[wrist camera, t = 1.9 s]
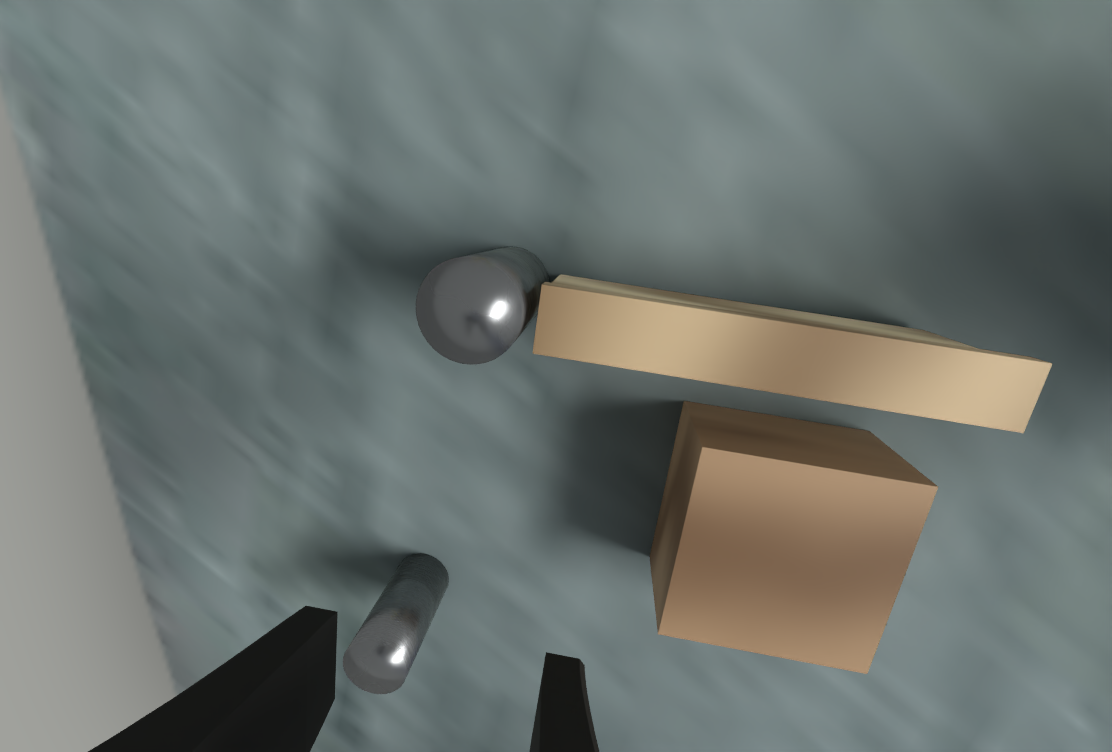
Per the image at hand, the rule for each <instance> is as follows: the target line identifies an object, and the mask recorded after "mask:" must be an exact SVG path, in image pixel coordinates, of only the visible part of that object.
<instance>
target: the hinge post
mask: <svg viewBox="0 0 1112 752" xmlns="http://www.w3.org/2000/svg"><path fill="white" fill-rule="evenodd" d="M544 282H549V277H548V274H547V271H546V269H545V267H544V265H543V263H542V262H541V261H540V260H539V258H537V257H536V256H535V255H534V254H533V253H531V252H529V251H527V250H525V249H522V248H518V247H504V248H499V249H495V250H490V251H485V252H481V253H476V254H471V255H467V256H462V257H457V258H453V259H450V260H447V261H445V262H443V263H441V264H439V265H438V266H436V267H435V268H433V269H432V270H431V271H430V272H429V273H428V275H427V276H426V277H425V278H424V280H423V282H422V284H421V286H420V288H419V291H418V294H417V299H416V316H417V321H418V325H419V327H420V330H421V332H422V334H423V336H424V337H425V339H426V340H427V342H428V343H429V344H430V345H431V346H432V347H433V349H435V350H436V351H437V352H438V353H439V354H441V355H442V356H444V357H446V358H448V359H450V360H452V361H455V362H458V363H462V364H481V363H486V362H489V361H491V360H494V359H496V358H497V357H499V356H500V355H502V354H503V353H504V352H505V351H507V350H508V348H509V347H510V346H511V345H512V344H513V343H514V341H515V340H516V339H517V338H518V337H519V335H520V334H521V333H522V332H523V331H524V329H525V328H526V327H527V326H528V325H529V323H530V322H531V321H532V320H533V319H534V317H535V316H536V315H537V314H538V309H539V302H540V294H541V286H542V284H543V283H544Z"/></svg>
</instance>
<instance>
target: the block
mask: <svg viewBox="0 0 1112 752" xmlns="http://www.w3.org/2000/svg"><path fill="white" fill-rule="evenodd" d="M937 489H938V486H937V485H935V484H934V483H933V482H932V481H930V480H929V479H928V478H927V477H925V476H924V475H923V474H922V473H920V472H919V471H918V470H917V469H916V468H914V467H913V466H912V465H911V464H909V463H908V462H907V461H906V460H904V459H903V458H902V457H901V456H899V455H898V454H897V453H896V452H895V451H893V450H892V449H891V448H890V447H888V446H887V445H886V444H885V443H883V442H882V441H881V440H880V439H878V438H877V437H876V436H875V435H874V434H872V433H871V432H870V431H865V430H859V429H853V428H847V427H841V426H835V425H829V424H823V423H816V422H810V421H804V420H798V419H792V418H786V417H780V416H774V415H768V414H762V413H756V412H749V411H743V410H737V409H731V408H725V407H719V406H713V405H707V404H701V403H695V402H689V401H684V402H683V407H682V411H681V416H680V421H679V425H678V430H677V434H676V439H675V443H674V448H673V452H672V457H671V462H670V466H669V471H668V475H667V480H666V484H665V489H664V493H663V498H662V502H661V507H660V512H659V516H658V521H657V525H656V530H655V534H654V539H653V543H652V548H651V553H650V565H651V574H652V583H653V592H654V601H655V610H656V620H657V629H658V634H660V635H665V636H671V637H676V638H681V639H686V640H692V641H697V642H702V643H707V644H713V645H718V646H723V647H728V648H734V649H739V650H744V651H749V652H755V653H760V654H765V655H770V656H776V657H781V658H786V659H791V660H797V661H802V662H807V663H812V664H818V665H823V666H828V667H833V668H839V669H844V670H849V671H854V672H860V673H865V674H867V673H868V670H869V668H870V665H871V663H872V660H873V657H874V655H875V652H876V649H877V647H878V644H879V642H880V639H881V636H882V634H883V631H884V628H885V626H886V623H887V621H888V618H889V615H890V613H891V610H892V607H893V605H894V602H895V599H896V597H897V594H898V592H899V589H900V586H901V584H902V581H903V578H904V576H905V573H906V571H907V568H908V565H909V563H910V560H911V557H912V555H913V552H914V550H915V547H916V544H917V542H918V539H919V536H920V534H921V531H922V529H923V526H924V523H925V521H926V518H927V515H928V513H929V510H930V508H931V505H932V502H933V500H934V497H935V494H936V492H937Z"/></svg>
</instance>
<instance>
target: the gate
mask: <svg viewBox="0 0 1112 752" xmlns="http://www.w3.org/2000/svg"><path fill="white" fill-rule="evenodd" d="M533 353H534V354H540V355H546V356H552V357H558V358H564V359H570V360H577V361H583V362H589V363H595V364H601V365H607V366H614V367H620V368H626V369H632V370H638V371H644V372H650V373H657V374H663V375H669V376H675V377H681V378H687V379H694V380H700V381H706V382H712V383H718V384H724V385H730V386H737V387H743V388H749V389H755V390H761V391H767V392H774V393H780V394H786V395H792V396H798V397H804V398H810V399H817V400H823V401H829V402H835V403H841V404H847V405H854V406H860V407H866V408H872V409H878V410H884V411H890V412H897V413H903V414H909V415H915V416H921V417H927V418H934V419H940V420H946V421H952V422H958V423H964V424H971V425H977V426H983V427H989V428H995V429H1001V430H1007V431H1014V432H1020V433H1024V431H1025V428H1026V426H1027V424H1028V421H1029V419H1030V416H1031V414H1032V412H1033V409H1034V407H1035V404H1036V402H1037V400H1038V397H1039V395H1040V392H1041V390H1042V388H1043V385H1044V383H1045V380H1046V378H1047V376H1048V373H1049V371H1050V368H1051V366H1052V363H1049V362H1046V361H1042V360H1039V359H1036V358H1033V357H1028V356H1022V355H1015V354H1009V353H1002V352H996V351H989V350H983V349H978V348H975V347H972V346H969V345H966V344H963V343H960V342H957V341H954V340H951V339H948V338H945V337H942V336H939V335H937V334H934V333H931V332H928V331H925V330H919V329H913V328H906V327H900V326H893V325H887V324H880V323H874V322H867V321H861V320H854V319H848V318H841V317H835V316H828V315H822V314H815V313H809V312H802V311H796V310H789V309H782V308H776V307H769V306H763V305H756V304H750V303H743V302H737V301H730V300H724V299H717V298H711V297H704V296H698V295H691V294H685V293H678V292H672V291H665V290H659V289H652V288H646V287H639V286H633V285H626V284H620V283H613V282H607V281H600V280H594V279H587V278H581V277H574V276H568V275H561V274H560V275H559V276H558V277H557V278H556V279H555V280H554V281H553V282H552V283H549V282H544V283H543V284H542V286H541V294H540V302H539V309H538V317H537V324H536V332H535V339H534V347H533Z"/></svg>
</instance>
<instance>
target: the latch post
mask: <svg viewBox="0 0 1112 752" xmlns="http://www.w3.org/2000/svg"><path fill="white" fill-rule="evenodd" d="M448 582H449V577H448V573H447V570H446V569H445V567H444V566H443V564H442V563H441V562H440V561H438V560H437V559H435V558H434V557H432V556H429V555H425V554H415V555H411V556H409V557H407V558H405V559H404V560H403V561H402V562H401V564H400V565H399V567H398V568H397V570H396V572H395V573H394V575H393V576H392V578H391V580H390V581H389V583H388V584H387V586H386V588H385V589H384V591H383V592H382V594H381V596H380V597H379V599H378V601H377V602H376V604H375V605H374V607H373V609H372V610H371V612H370V613H369V615H368V617H367V618H366V620H365V621H364V623H363V625H362V626H361V628H360V629H359V631H358V633H357V634H356V636H355V637H354V639H353V641H352V642H351V644H350V645H349V647H348V649H347V650H346V652H345V654H344V657H343V667H344V671H345V673H346V675H347V676H348V678H349V679H350V680H351V682H353V683H354V684H355V685H356V686H357V687H359V688H360V689H362V690H364V691H367V692H370V693H374V694H387V693H391V692H393V691H395V690H397V689H398V688H400V687H401V686H402V684H403V683H404V681H405V679H406V677H407V675H408V672H409V670H410V668H411V666H412V664H413V661H414V659H415V657H416V655H417V653H418V650H419V648H420V646H421V644H422V642H423V639H424V637H425V635H426V633H427V631H428V628H429V626H430V624H431V622H432V620H433V617H434V615H435V613H436V611H437V609H438V606H439V604H440V602H441V600H442V598H443V595H444V593H445V591H446V589H447V586H448Z"/></svg>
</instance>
